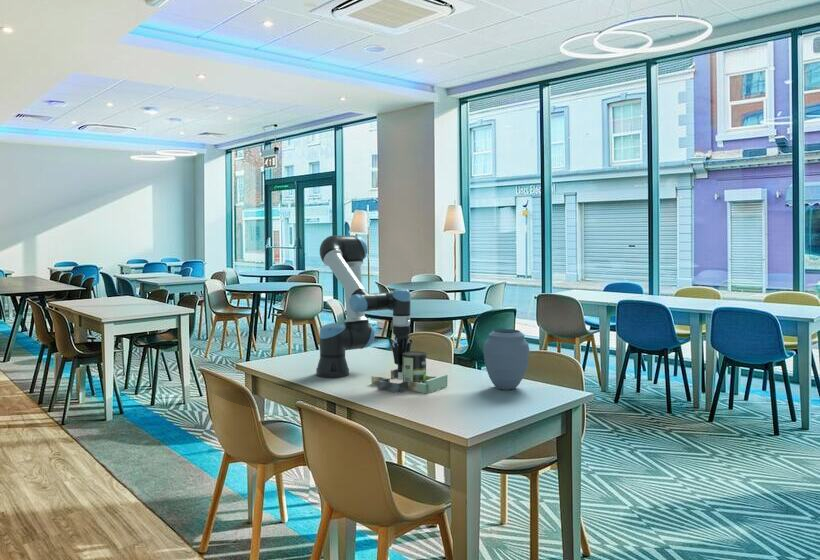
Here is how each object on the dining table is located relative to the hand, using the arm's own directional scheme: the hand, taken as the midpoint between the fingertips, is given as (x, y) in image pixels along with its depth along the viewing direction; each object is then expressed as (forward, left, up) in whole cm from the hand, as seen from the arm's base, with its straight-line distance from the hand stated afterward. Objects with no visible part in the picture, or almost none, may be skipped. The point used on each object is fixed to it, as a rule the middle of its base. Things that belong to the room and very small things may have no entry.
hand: (401, 379), depth 285 cm
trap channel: (+1, 0, -2) cm, 3 cm away
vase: (+40, +19, -2) cm, 45 cm away
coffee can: (+6, 0, -2) cm, 7 cm away
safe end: (+16, 0, -2) cm, 16 cm away
